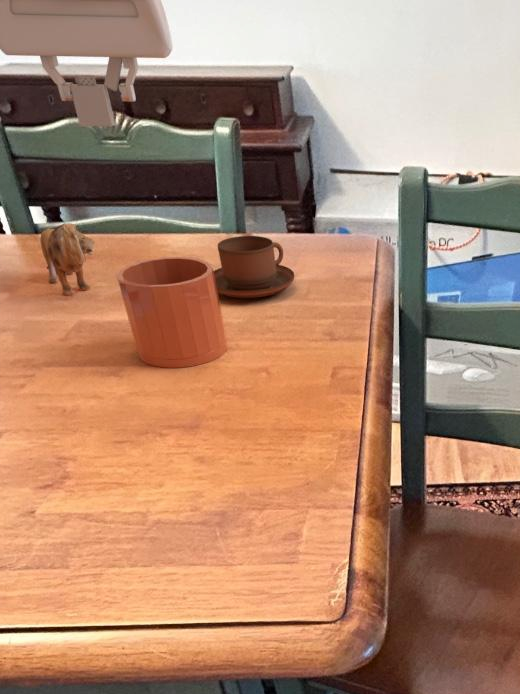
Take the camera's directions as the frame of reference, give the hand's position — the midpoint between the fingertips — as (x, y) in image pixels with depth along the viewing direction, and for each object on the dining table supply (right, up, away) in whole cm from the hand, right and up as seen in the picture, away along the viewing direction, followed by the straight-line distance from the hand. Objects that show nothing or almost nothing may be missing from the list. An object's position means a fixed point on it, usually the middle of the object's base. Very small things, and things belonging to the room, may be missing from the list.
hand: (99, 100), depth 94 cm
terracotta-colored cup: (+13, -34, -6) cm, 37 cm away
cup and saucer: (+17, -21, +9) cm, 28 cm away
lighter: (0, -2, +2) cm, 3 cm away
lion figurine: (-8, -20, +10) cm, 24 cm away
